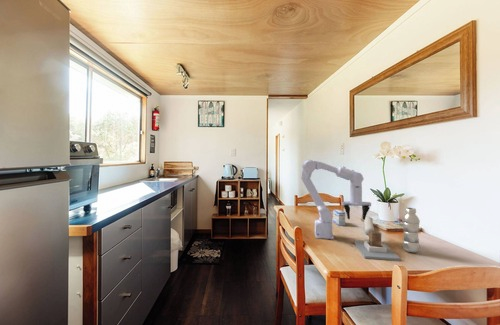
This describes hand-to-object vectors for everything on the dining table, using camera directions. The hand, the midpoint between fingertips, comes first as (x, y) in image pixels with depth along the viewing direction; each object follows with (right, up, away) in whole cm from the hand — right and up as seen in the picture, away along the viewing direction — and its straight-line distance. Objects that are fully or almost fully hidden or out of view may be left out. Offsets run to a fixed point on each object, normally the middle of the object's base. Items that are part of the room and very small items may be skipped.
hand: (356, 219), depth 119 cm
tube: (+15, -10, +14) cm, 23 cm away
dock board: (+1, -11, -16) cm, 19 cm away
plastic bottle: (+17, -11, -17) cm, 27 cm away
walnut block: (+1, -10, -16) cm, 19 cm away
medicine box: (+1, -10, +26) cm, 27 cm away
